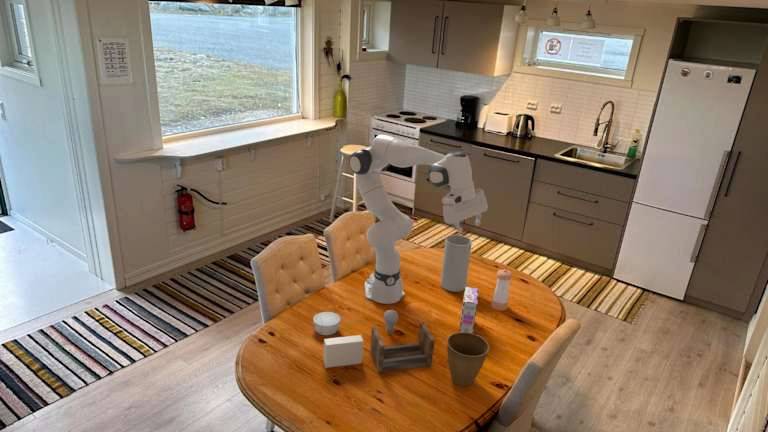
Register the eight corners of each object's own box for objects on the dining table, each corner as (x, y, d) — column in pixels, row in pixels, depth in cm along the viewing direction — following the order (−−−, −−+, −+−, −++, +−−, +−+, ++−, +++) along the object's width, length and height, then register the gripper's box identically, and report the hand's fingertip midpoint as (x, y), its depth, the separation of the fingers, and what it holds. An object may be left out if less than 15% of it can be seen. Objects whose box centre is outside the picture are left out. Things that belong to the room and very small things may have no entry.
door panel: (323, 361, 202) (324, 338, 198) (359, 357, 206) (360, 335, 202) (325, 367, 198) (326, 345, 195) (362, 363, 202) (363, 341, 199)
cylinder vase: (448, 277, 272) (453, 232, 263) (470, 285, 266) (476, 239, 257) (435, 286, 263) (440, 240, 254) (458, 295, 256) (464, 247, 247)
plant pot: (455, 397, 187) (460, 359, 182) (435, 372, 200) (439, 335, 194) (491, 388, 193) (497, 351, 188) (469, 364, 206) (474, 328, 200)
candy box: (472, 338, 223) (477, 303, 217) (458, 335, 224) (463, 301, 218) (474, 320, 236) (478, 287, 230) (460, 318, 237) (465, 285, 231)
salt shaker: (506, 303, 252) (512, 266, 245) (508, 311, 245) (514, 274, 238) (490, 301, 252) (496, 265, 245) (492, 309, 246) (497, 272, 239)
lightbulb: (386, 339, 218) (388, 315, 214) (379, 331, 223) (381, 308, 219) (399, 336, 221) (401, 312, 217) (392, 328, 226) (394, 305, 222)
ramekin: (307, 328, 222) (307, 317, 220) (327, 319, 229) (328, 308, 228) (325, 340, 215) (325, 329, 213) (345, 330, 222) (346, 319, 221)
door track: (370, 354, 208) (371, 327, 204) (420, 347, 214) (423, 322, 210) (378, 373, 197) (380, 345, 193) (431, 366, 203) (434, 339, 199)
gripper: (477, 186, 211) (482, 220, 214) (438, 200, 200) (444, 235, 204) (488, 187, 206) (493, 221, 209) (449, 201, 195) (455, 237, 198)
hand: (469, 228), depth 206 cm, fingers open, 8 cm apart
